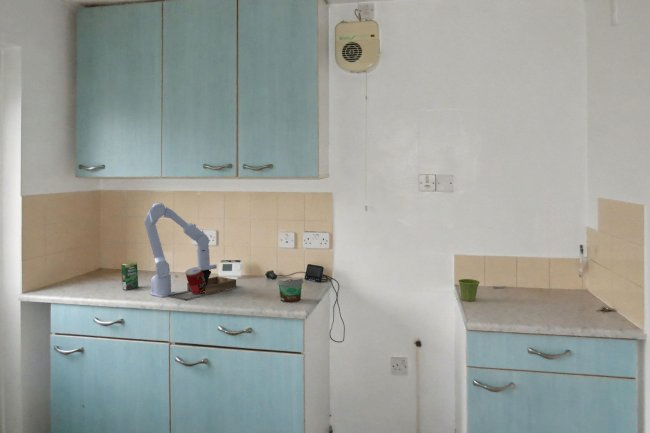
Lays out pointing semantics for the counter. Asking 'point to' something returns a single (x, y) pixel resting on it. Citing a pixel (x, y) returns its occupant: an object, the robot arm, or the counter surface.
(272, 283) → the counter surface
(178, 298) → the frame
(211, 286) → the wooden tray
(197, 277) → the canned food
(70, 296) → the counter surface
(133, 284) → the coffee box
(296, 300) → the food container
